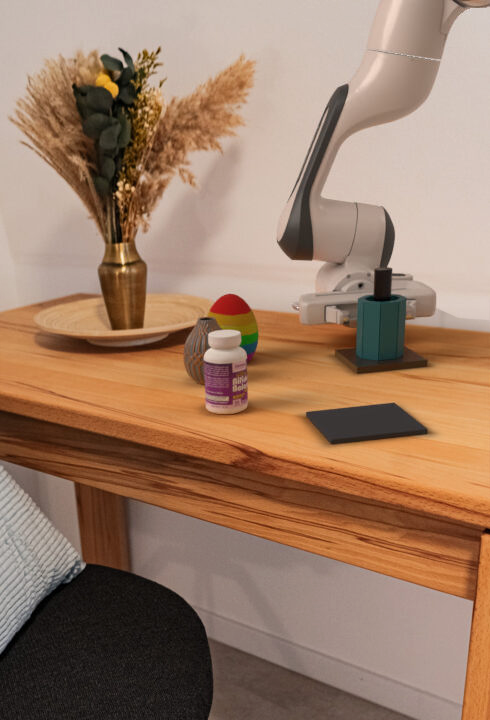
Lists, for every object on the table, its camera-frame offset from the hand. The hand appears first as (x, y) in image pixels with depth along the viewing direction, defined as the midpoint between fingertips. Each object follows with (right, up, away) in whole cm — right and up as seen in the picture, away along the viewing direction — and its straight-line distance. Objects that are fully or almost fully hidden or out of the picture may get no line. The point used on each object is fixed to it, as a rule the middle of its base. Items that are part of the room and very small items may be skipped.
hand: (377, 316), depth 120 cm
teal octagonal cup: (0, -5, 0) cm, 5 cm away
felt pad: (-8, -18, -23) cm, 30 cm away
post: (0, -6, 0) cm, 6 cm away
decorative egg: (-20, -5, +6) cm, 22 cm away
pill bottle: (-23, -15, -14) cm, 31 cm away
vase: (-24, -10, -2) cm, 26 cm away
